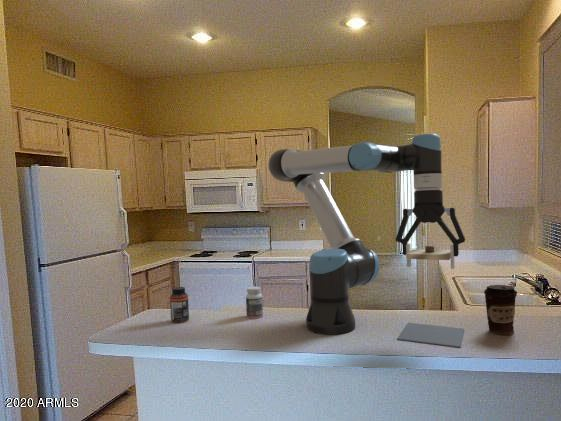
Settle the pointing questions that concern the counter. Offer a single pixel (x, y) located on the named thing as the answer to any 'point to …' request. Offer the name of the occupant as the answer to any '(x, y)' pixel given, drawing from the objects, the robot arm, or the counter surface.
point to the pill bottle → (254, 302)
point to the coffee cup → (500, 308)
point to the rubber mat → (432, 334)
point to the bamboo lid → (429, 254)
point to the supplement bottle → (179, 305)
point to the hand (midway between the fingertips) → (430, 267)
